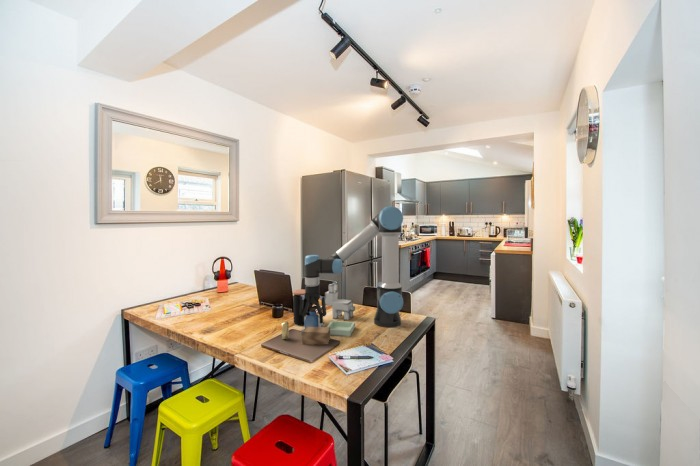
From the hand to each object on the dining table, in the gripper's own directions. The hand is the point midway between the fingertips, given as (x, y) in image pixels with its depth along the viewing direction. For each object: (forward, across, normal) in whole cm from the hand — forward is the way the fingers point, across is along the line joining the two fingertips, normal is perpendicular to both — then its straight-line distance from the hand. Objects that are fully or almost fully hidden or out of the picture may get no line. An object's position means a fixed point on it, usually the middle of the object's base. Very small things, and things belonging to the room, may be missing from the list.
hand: (312, 328), depth 153 cm
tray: (+2, -14, -3) cm, 14 cm away
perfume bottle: (+2, 0, 0) cm, 2 cm away
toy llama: (+2, -9, -25) cm, 27 cm away
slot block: (+2, 0, 0) cm, 2 cm away
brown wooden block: (+2, -6, +12) cm, 14 cm away
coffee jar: (+2, +10, -12) cm, 16 cm away
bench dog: (+2, +10, +12) cm, 16 cm away
